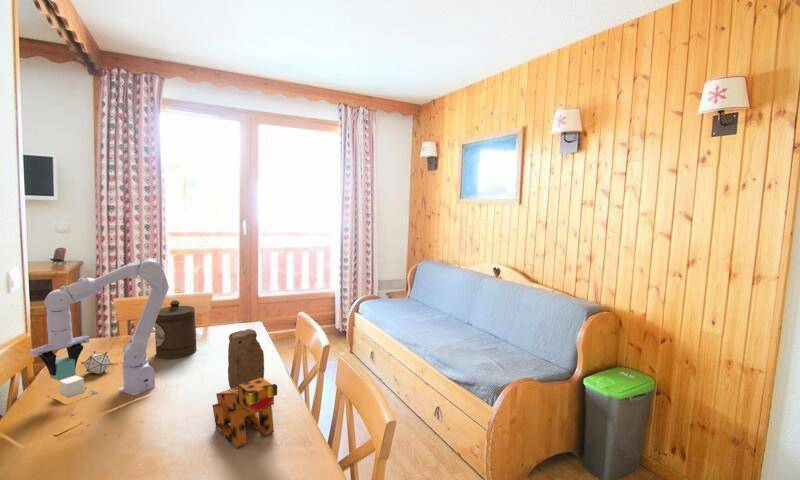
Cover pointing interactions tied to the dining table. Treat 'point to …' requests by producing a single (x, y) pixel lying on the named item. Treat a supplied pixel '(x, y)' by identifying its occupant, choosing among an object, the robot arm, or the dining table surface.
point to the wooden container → (175, 331)
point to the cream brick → (72, 386)
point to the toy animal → (245, 410)
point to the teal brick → (64, 368)
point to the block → (244, 358)
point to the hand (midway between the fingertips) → (62, 371)
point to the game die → (97, 363)
